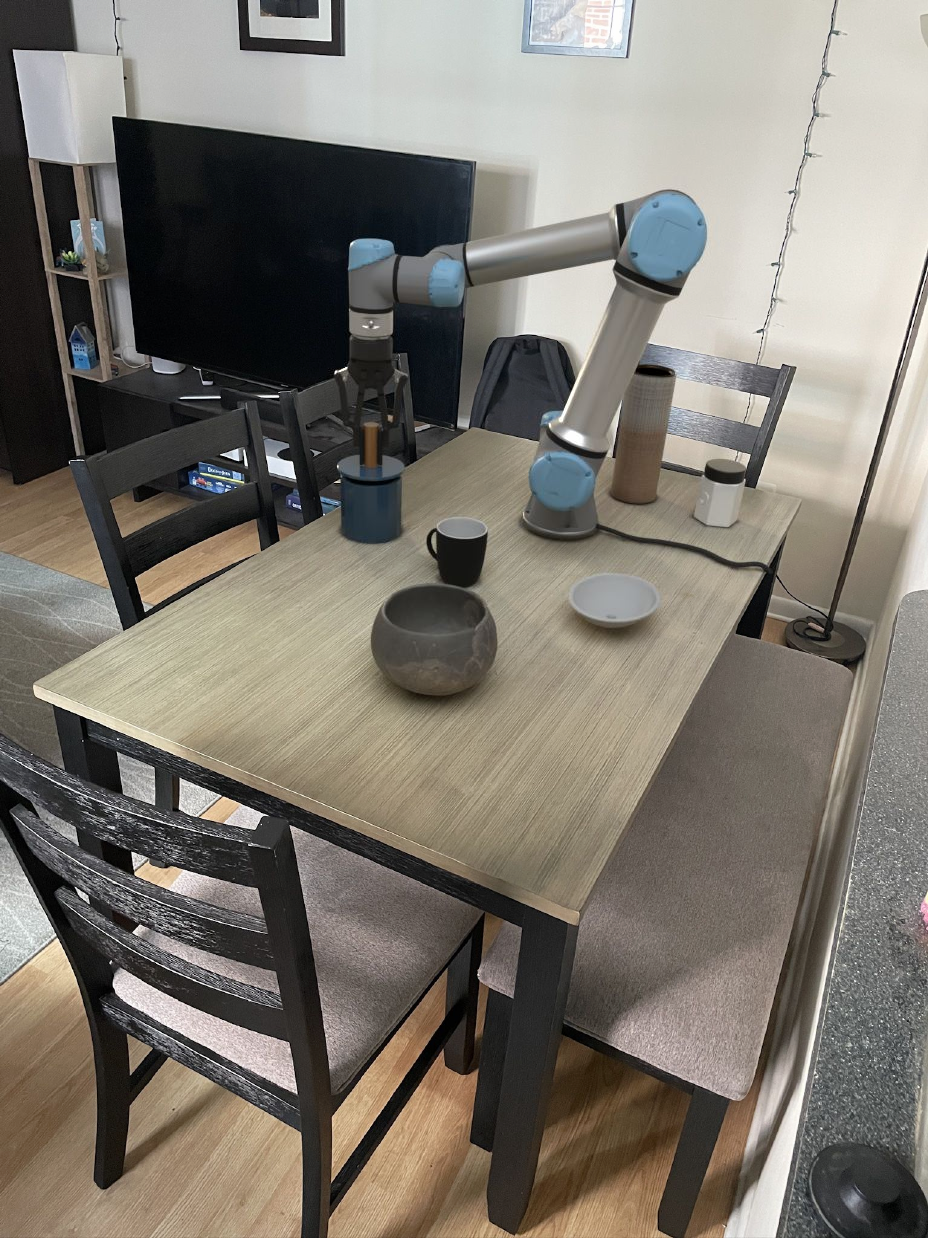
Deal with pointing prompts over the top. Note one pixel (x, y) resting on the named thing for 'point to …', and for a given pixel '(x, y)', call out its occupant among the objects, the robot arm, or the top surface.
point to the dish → (614, 599)
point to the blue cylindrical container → (371, 509)
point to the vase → (643, 434)
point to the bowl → (434, 638)
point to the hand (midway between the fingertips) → (371, 462)
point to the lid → (370, 460)
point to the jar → (720, 492)
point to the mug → (459, 549)
